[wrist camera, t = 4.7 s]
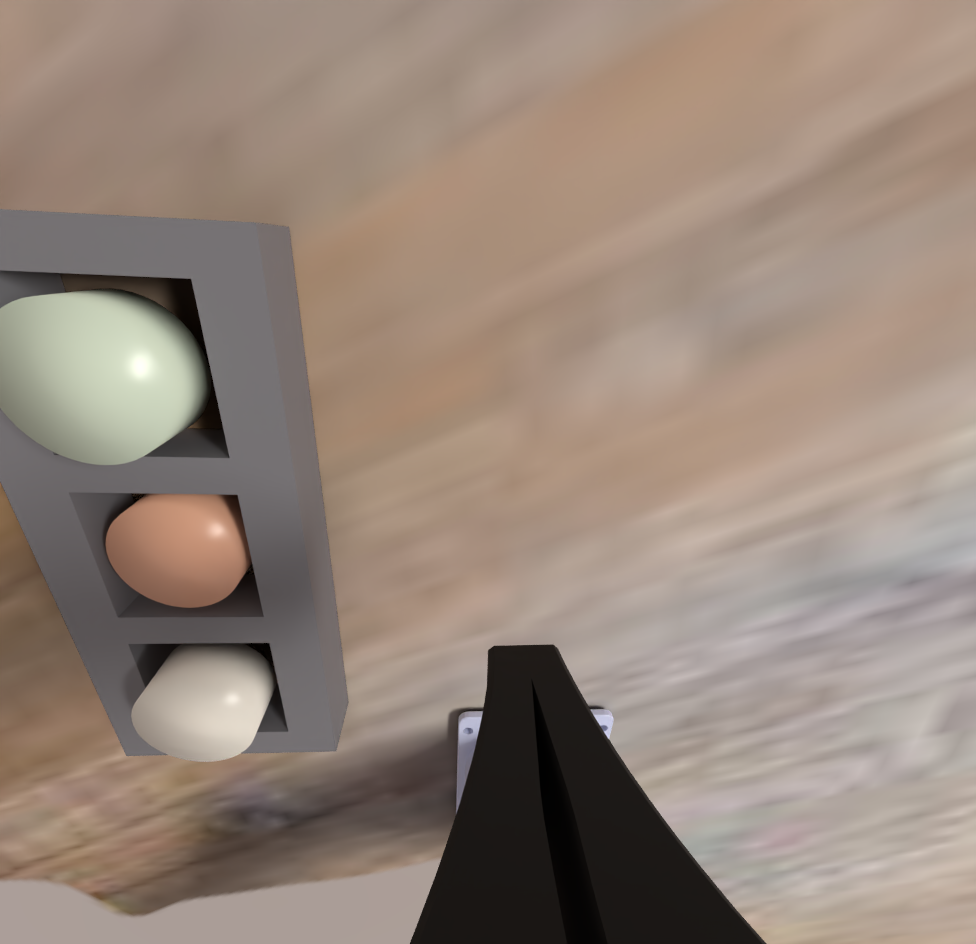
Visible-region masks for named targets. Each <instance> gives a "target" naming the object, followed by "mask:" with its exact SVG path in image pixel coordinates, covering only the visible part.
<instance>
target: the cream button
mask: <svg viewBox="0 0 976 944" xmlns="http://www.w3.org/2000/svg"><path fill="white" fill-rule="evenodd" d="M275 687H276V675H275V672H274V670H273V668H272V666H271V664H270V663H269V662H268V661H267V659H266V658H265V657H264V656H262V655H261V654H260V653H259V652H257V651H256V650H254V649H253V648H251V647H249V646H247V645H245V644H242V643H183V644H181V645H179V646H178V647H177V648H175V649H174V650H173V651H172V652H171V653H170V655H169V656H168V658H167V659H166V660H165V662H164V663H163V665H162V666H161V667H160V669H159V670H158V672H157V673H156V674H155V676H154V677H153V678H152V680H151V681H150V683H149V684H148V685H147V687H146V688H145V690H144V691H143V692H142V694H141V695H140V697H139V698H138V699H137V701H136V702H135V704H134V706H133V708H132V713H131V718H132V723H133V726H134V728H135V730H136V731H137V733H138V734H139V735H140V737H141V738H142V739H143V740H144V741H146V742H147V743H148V744H149V745H151V746H152V747H154V748H155V749H157V750H159V751H161V752H163V753H165V754H168V755H170V756H173V757H176V758H180V759H184V760H190V761H199V762H210V761H220V760H224V759H228V758H231V757H234V756H236V755H238V754H240V753H242V752H243V751H245V750H246V749H247V748H248V747H249V746H250V745H251V743H252V741H253V740H254V737H255V735H256V733H257V730H258V728H259V726H260V723H261V721H262V718H263V716H264V714H265V711H266V709H267V707H268V704H269V702H270V700H271V697H272V695H273V693H274V690H275Z"/></svg>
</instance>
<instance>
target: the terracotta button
mask: <svg viewBox="0 0 976 944" xmlns="http://www.w3.org/2000/svg"><path fill="white" fill-rule="evenodd" d="M106 552H107V555H108V558H109V561H110V563H111V565H112V567H113V568H114V570H115V571H116V573H117V574H118V575H119V576H120V578H121V579H122V580H123V581H124V582H125V583H126V584H128V585H129V586H130V587H131V588H133V589H134V590H135V591H137V592H139V593H140V594H142V595H144V596H146V597H147V598H149V599H152V600H154V601H157V602H160V603H163V604H166V605H170V606H175V607H185V608H195V607H203V606H208V605H212V604H214V603H217V602H219V601H221V600H223V599H224V598H226V597H227V596H228V595H230V594H231V593H232V592H233V590H234V589H235V588H236V586H237V585H238V583H239V582H240V580H241V579H242V577H243V576H244V574H245V573H246V571H247V570H248V568H249V567H250V565H251V564H252V560H251V555H250V550H249V546H248V541H247V536H246V532H245V527H244V522H243V518H242V513H241V508H240V504H239V499H238V495H220V494H148V493H147V494H146V495H145V496H143V497H142V498H141V499H139V500H138V501H137V502H136V503H134V504H133V505H132V506H130V507H129V508H128V509H127V510H125V511H124V512H123V513H121V514H120V515H119V516H118V517H117V518H116V519H115V520H114V521H113V522H112V524H111V525H110V527H109V529H108V532H107V536H106Z"/></svg>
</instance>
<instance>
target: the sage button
mask: <svg viewBox="0 0 976 944" xmlns="http://www.w3.org/2000/svg"><path fill="white" fill-rule="evenodd" d="M210 392H211V376H210V370H209V366H208V363H207V359H206V357H205V355H204V352H203V350H202V348H201V347H200V345H199V343H198V341H197V340H196V338H195V337H194V336H193V334H192V333H191V331H190V330H189V329H188V328H187V327H186V326H185V325H184V323H183V322H181V321H180V320H179V319H178V318H177V317H176V316H175V315H174V314H172V313H171V312H170V311H169V310H167V309H166V308H164V307H163V306H161V305H160V304H158V303H156V302H155V301H153V300H151V299H148V298H146V297H144V296H142V295H139V294H136V293H133V292H129V291H125V290H119V289H94V290H85V291H76V292H66V293H57V294H48V295H39V296H31V297H25V298H21V299H18V300H15V301H12V302H10V303H8V304H6V305H5V306H3V307H1V308H0V408H1V410H2V411H3V412H4V413H5V415H6V416H7V417H8V418H9V419H10V420H11V421H12V422H13V423H14V424H15V425H16V426H17V427H18V428H19V429H20V430H21V431H22V432H24V433H25V434H26V435H27V436H29V437H30V438H31V439H33V440H34V441H36V442H37V443H39V444H40V445H42V446H44V447H45V448H47V449H49V450H51V451H53V452H55V453H57V454H59V455H62V456H64V457H67V458H69V459H72V460H76V461H80V462H83V463H89V464H96V465H118V464H124V463H128V462H131V461H135V460H137V459H139V458H141V457H143V456H145V455H147V454H148V453H150V452H151V451H153V450H154V449H156V448H157V447H159V446H160V445H162V444H163V443H165V442H166V441H168V440H170V439H171V438H173V437H174V436H176V435H177V434H179V433H180V432H182V431H183V430H185V429H186V428H188V427H189V426H191V425H192V424H194V423H195V422H196V421H197V420H198V419H199V418H200V416H201V415H202V414H203V412H204V410H205V408H206V406H207V404H208V401H209V398H210Z"/></svg>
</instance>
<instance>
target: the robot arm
mask: <svg viewBox="0 0 976 944" xmlns="http://www.w3.org/2000/svg"><path fill="white" fill-rule="evenodd" d="M612 725H613V716H612V713H611V712H610V711H609V710H606V709H590V708H589V707H588V705H587V703H586V701H585V700H584V698H583V696H582V694H581V693H580V691H579V689H578V687H577V685H576V684H575V682H574V680H573V678H572V676H571V674H570V672H569V670H568V669H567V667H566V665H565V663H564V661H563V659H562V657H561V654H560V652H559V650H558V648H556V647H555V646H554V645H514V646H493V647H492V648H491V649H489V650H488V673H487V690H486V696H485V703H484V709H483V711H468V712H464V713H462V714H461V715H460V716H459V718H458V756H457V795H456V817H455V820H454V823H453V826H452V829H451V832H450V835H449V838H448V841H447V844H446V847H445V850H444V853H443V856H442V859H441V862H440V865H439V867H438V871H437V873H436V876H435V879H434V881H433V884H432V887H431V889H430V892H429V895H428V897H427V900H426V903H425V905H424V908H423V911H422V914H421V916H420V919H419V921H418V924H417V927H416V929H415V932H414V935H413V937H412V939H411V942H410V944H766V943H765V942H764V941H763V939H762V938H761V937H760V936H759V935H758V934H757V933H756V932H755V930H754V929H753V928H752V927H751V926H750V925H749V924H748V923H747V921H746V920H745V919H744V918H743V917H742V916H741V915H740V914H739V912H738V911H737V910H736V909H735V908H734V907H733V905H732V904H731V903H730V902H729V901H728V899H727V898H726V897H725V896H724V895H723V893H722V892H721V891H720V890H719V888H718V887H717V886H716V885H715V884H714V882H713V881H712V880H711V879H710V878H709V876H708V875H707V874H706V873H705V871H704V870H703V869H702V868H701V867H700V865H699V864H698V863H697V862H696V860H695V859H694V858H693V856H692V855H691V854H690V853H689V851H688V850H687V849H686V847H685V846H684V845H683V844H682V842H681V841H680V840H679V839H678V837H677V836H676V835H675V833H674V832H673V831H672V829H671V828H670V827H669V825H668V824H667V823H666V821H665V820H664V819H663V817H662V816H661V815H660V813H659V812H658V811H657V809H656V808H655V807H654V805H653V804H652V802H651V801H650V800H649V798H648V797H647V795H646V794H645V793H644V791H643V790H642V788H641V787H640V785H639V784H638V783H637V781H636V780H635V778H634V777H633V775H632V774H631V773H630V771H629V770H628V768H627V767H626V765H625V764H624V762H623V761H622V759H621V758H620V756H619V755H618V753H617V751H616V750H615V748H614V747H613V745H612V744H611V742H610V740H609V737H610V733H611V729H612Z"/></svg>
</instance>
